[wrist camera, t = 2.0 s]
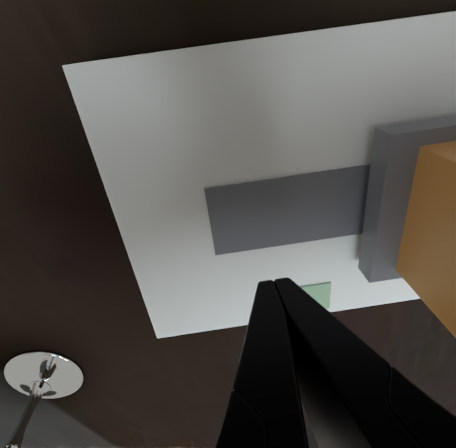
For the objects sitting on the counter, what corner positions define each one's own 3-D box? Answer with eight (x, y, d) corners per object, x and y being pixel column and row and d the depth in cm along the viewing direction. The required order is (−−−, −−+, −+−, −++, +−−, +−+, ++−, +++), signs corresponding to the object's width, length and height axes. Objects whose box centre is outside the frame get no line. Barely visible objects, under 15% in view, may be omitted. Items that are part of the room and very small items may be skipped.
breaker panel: (692, -22, 11) (788, -35, 9) (554, 249, 17) (596, 273, 15) (83, 61, 11) (60, 65, 9) (161, 308, 17) (157, 340, 15)
